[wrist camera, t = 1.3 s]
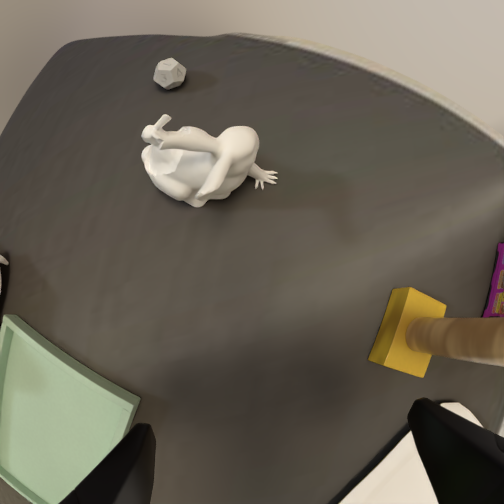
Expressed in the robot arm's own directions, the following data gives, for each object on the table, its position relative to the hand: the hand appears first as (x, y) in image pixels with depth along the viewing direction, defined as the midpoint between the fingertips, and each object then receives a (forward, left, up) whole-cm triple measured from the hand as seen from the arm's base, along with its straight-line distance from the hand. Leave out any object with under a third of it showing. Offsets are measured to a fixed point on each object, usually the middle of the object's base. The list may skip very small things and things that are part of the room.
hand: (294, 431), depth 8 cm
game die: (+21, +19, -16) cm, 32 cm away
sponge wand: (+6, -13, -15) cm, 21 cm away
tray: (-20, +15, -15) cm, 29 cm away
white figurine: (+11, +10, -16) cm, 21 cm away
